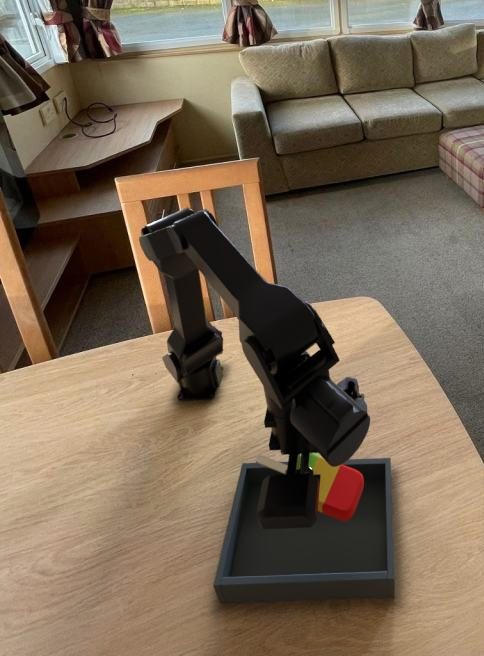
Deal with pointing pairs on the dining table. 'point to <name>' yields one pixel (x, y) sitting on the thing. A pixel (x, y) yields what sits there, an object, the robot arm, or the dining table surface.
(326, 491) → the popsicle
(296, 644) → the dining table surface
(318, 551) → the tub
